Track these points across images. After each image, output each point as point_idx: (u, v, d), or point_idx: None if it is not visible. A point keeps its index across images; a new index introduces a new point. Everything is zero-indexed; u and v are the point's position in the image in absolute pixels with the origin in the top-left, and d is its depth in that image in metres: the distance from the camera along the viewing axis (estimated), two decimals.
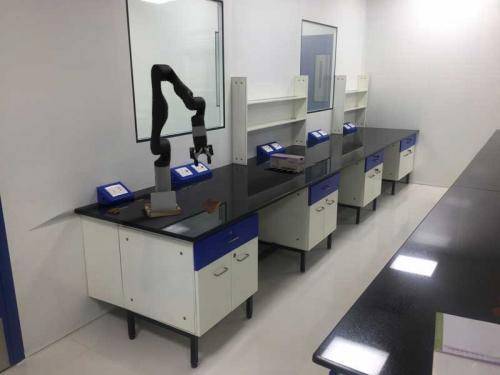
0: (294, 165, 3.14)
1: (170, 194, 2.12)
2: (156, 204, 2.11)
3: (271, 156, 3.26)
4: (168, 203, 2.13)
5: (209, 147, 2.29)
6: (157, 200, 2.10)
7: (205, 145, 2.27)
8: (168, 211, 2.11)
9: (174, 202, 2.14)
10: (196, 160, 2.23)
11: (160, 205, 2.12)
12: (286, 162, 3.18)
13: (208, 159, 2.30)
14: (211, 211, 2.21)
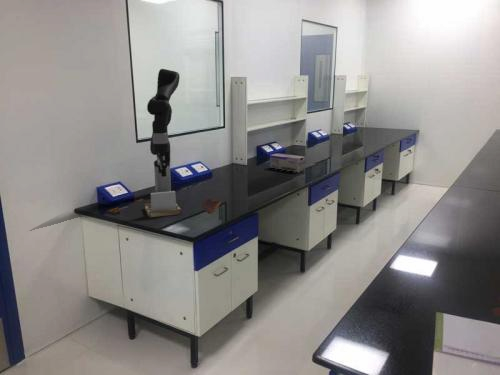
0: (294, 165, 3.14)
1: (170, 194, 2.12)
2: (156, 204, 2.11)
3: (271, 156, 3.26)
4: (168, 203, 2.13)
5: None
6: (157, 200, 2.10)
7: (159, 154, 2.04)
8: (168, 211, 2.11)
9: (174, 202, 2.14)
10: None
11: (160, 205, 2.12)
12: (286, 162, 3.18)
13: None
14: (211, 211, 2.21)
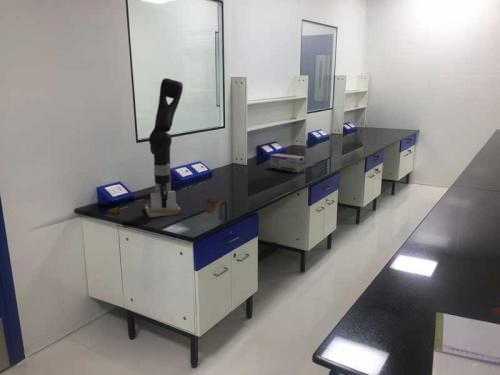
0: (294, 165, 3.14)
1: (170, 194, 2.12)
2: (156, 204, 2.11)
3: (271, 156, 3.26)
4: (168, 203, 2.13)
5: None
6: (157, 200, 2.10)
7: (161, 185, 2.07)
8: (168, 211, 2.11)
9: (174, 202, 2.14)
10: None
11: (160, 205, 2.11)
12: (285, 162, 3.18)
13: None
14: (211, 211, 2.21)
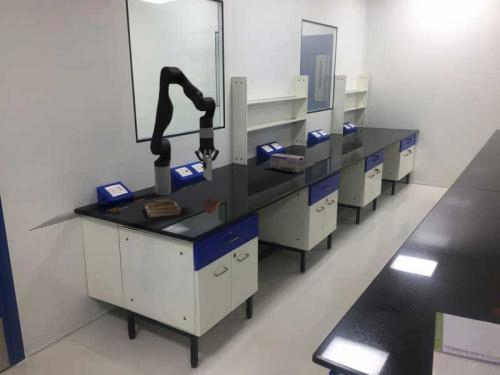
0: (294, 165, 3.14)
1: None
2: None
3: (271, 156, 3.26)
4: None
5: (215, 151, 2.24)
6: None
7: (212, 146, 2.22)
8: (168, 211, 2.11)
9: None
10: (204, 163, 2.24)
11: None
12: (285, 162, 3.18)
13: None
14: (211, 211, 2.21)
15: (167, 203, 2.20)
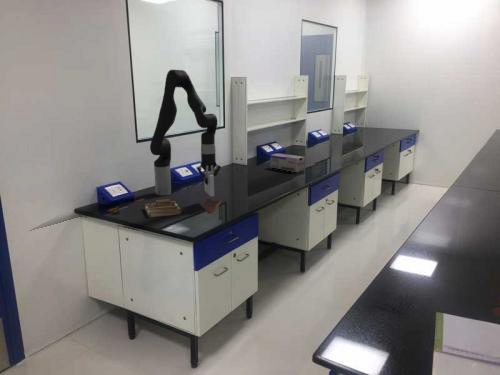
0: (293, 165, 3.14)
1: None
2: None
3: (271, 156, 3.27)
4: None
5: (217, 167, 2.27)
6: None
7: (214, 162, 2.25)
8: (168, 211, 2.11)
9: None
10: (206, 178, 2.26)
11: None
12: (285, 162, 3.18)
13: None
14: (211, 211, 2.22)
15: (167, 203, 2.20)
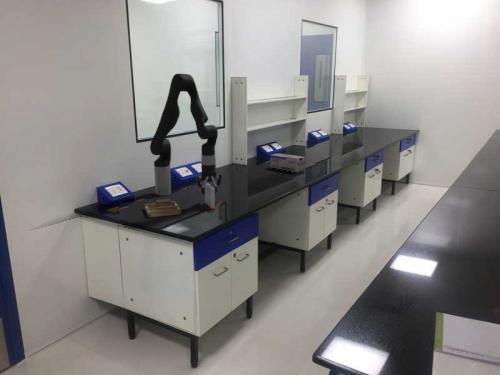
0: (293, 165, 3.14)
1: None
2: None
3: (271, 156, 3.27)
4: None
5: (218, 176, 2.28)
6: None
7: (213, 173, 2.26)
8: (168, 211, 2.11)
9: None
10: None
11: None
12: (285, 162, 3.19)
13: None
14: (211, 211, 2.22)
15: (167, 203, 2.20)
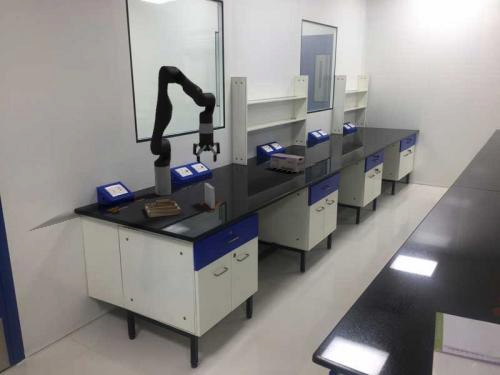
0: (293, 165, 3.14)
1: None
2: None
3: (271, 156, 3.27)
4: None
5: (216, 145, 2.24)
6: None
7: (211, 143, 2.23)
8: (168, 211, 2.11)
9: None
10: (198, 157, 2.22)
11: None
12: (285, 162, 3.19)
13: (213, 157, 2.26)
14: (210, 212, 2.22)
15: (167, 203, 2.20)
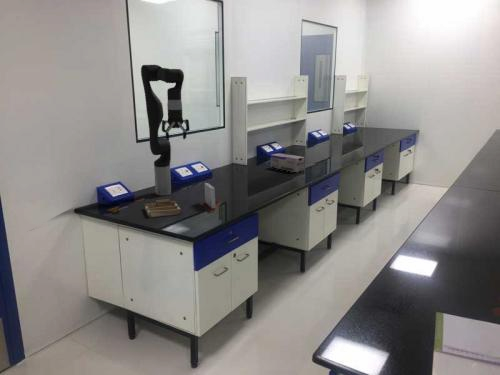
0: (292, 165, 3.14)
1: None
2: None
3: (271, 156, 3.27)
4: None
5: (185, 122, 2.24)
6: None
7: (180, 120, 2.22)
8: (168, 211, 2.11)
9: None
10: (167, 134, 2.22)
11: None
12: (285, 162, 3.19)
13: (183, 134, 2.26)
14: (211, 211, 2.21)
15: (167, 203, 2.20)
